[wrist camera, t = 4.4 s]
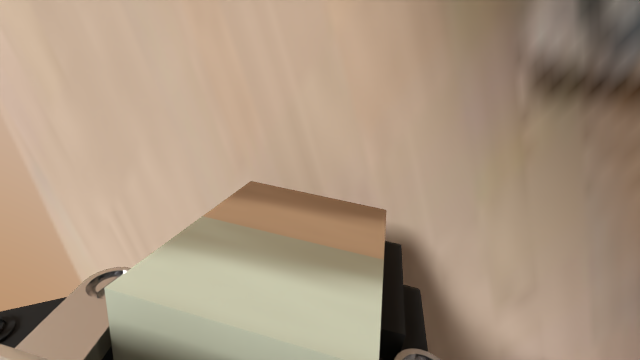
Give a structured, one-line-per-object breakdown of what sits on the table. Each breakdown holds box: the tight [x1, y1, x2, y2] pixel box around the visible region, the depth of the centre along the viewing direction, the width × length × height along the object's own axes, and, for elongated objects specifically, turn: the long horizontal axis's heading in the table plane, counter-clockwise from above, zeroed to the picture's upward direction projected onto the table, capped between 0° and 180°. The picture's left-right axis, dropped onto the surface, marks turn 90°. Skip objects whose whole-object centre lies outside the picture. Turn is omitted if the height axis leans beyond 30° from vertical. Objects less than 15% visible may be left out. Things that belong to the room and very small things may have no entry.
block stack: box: [104, 181, 386, 360], centre depth 9 cm, size 5×5×6 cm
